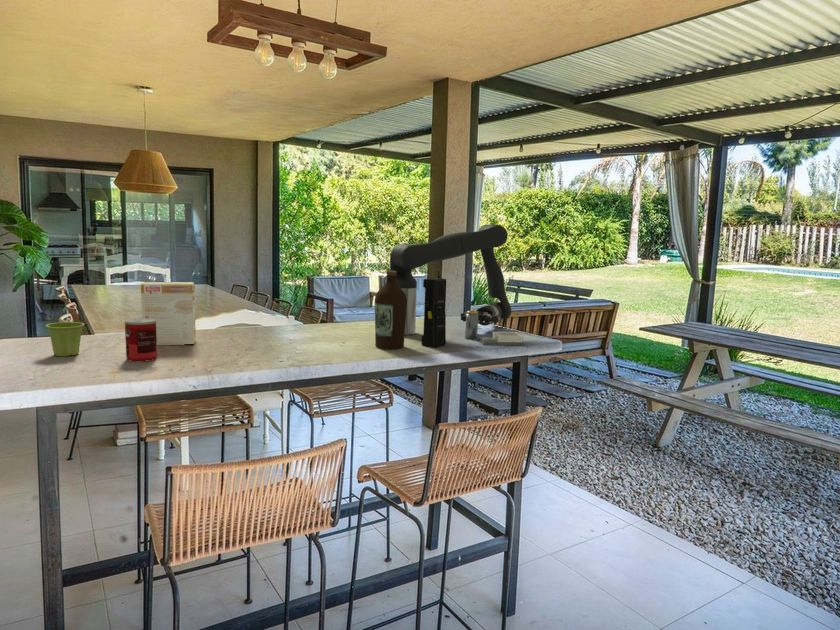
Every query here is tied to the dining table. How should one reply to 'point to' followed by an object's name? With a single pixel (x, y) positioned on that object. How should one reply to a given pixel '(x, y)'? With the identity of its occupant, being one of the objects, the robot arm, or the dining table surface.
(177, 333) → the coffeecake box
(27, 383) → the dining table surface
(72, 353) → the plant pot
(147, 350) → the canned food
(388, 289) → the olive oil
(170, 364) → the dining table surface
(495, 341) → the tester board
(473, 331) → the cell
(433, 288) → the portable radio
